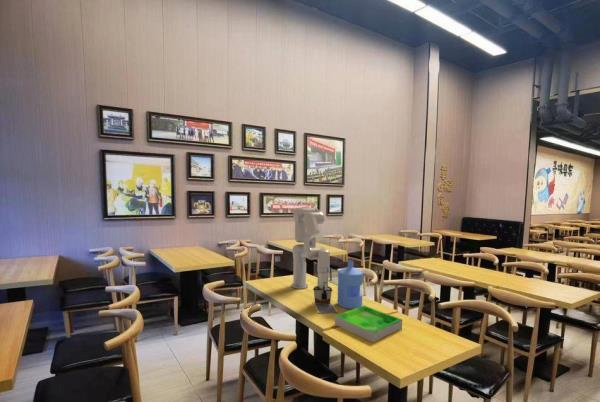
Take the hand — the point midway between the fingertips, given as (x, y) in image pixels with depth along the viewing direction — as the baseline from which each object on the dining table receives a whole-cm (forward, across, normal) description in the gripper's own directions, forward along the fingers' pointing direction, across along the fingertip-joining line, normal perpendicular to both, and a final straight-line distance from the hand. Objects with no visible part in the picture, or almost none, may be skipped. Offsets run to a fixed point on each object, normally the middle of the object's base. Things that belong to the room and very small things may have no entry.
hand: (322, 297), depth 192 cm
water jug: (+5, +2, +17) cm, 18 cm away
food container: (+4, 0, 0) cm, 4 cm away
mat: (+4, +5, 0) cm, 7 cm away
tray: (+5, +33, +17) cm, 38 cm away
